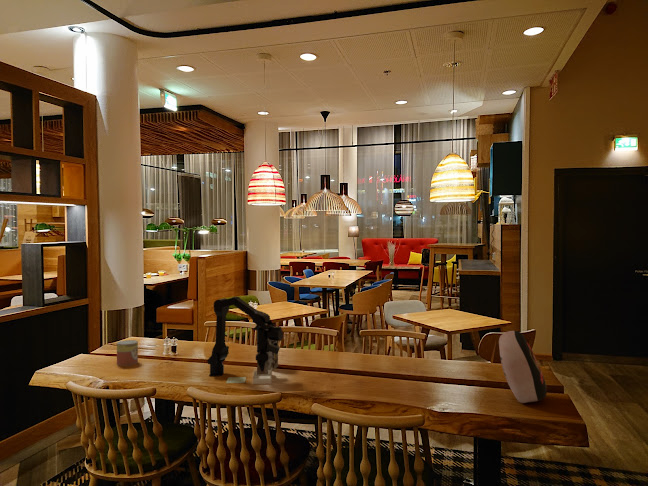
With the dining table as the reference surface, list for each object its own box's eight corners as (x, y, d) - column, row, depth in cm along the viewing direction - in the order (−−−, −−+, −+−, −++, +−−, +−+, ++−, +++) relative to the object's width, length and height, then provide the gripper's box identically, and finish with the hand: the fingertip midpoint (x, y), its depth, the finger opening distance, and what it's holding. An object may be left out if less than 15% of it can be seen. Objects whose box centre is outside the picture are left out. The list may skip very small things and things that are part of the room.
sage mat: (226, 384, 228) (226, 382, 228) (228, 378, 237) (228, 377, 237) (244, 383, 229) (244, 382, 229) (246, 378, 238) (246, 377, 238)
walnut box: (256, 374, 233) (257, 361, 233) (257, 372, 237) (257, 359, 237) (268, 374, 233) (268, 361, 233) (268, 371, 237) (268, 359, 237)
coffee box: (273, 370, 253) (273, 340, 252) (262, 369, 254) (262, 340, 254) (278, 366, 261) (278, 337, 261) (267, 365, 263) (267, 336, 263)
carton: (252, 384, 227) (252, 376, 227) (254, 376, 242) (254, 368, 242) (271, 384, 228) (271, 376, 228) (271, 375, 243) (271, 367, 243)
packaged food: (549, 410, 193) (549, 338, 193) (498, 404, 200) (498, 334, 200) (545, 394, 213) (545, 328, 213) (499, 389, 220) (499, 325, 220)
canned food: (130, 366, 261) (130, 344, 261) (112, 365, 263) (112, 344, 263) (141, 361, 273) (141, 340, 273) (124, 360, 274) (124, 339, 274)
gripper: (278, 342, 226) (278, 375, 226) (278, 335, 245) (278, 364, 245) (255, 343, 225) (255, 375, 225) (257, 335, 244) (257, 365, 244)
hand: (262, 370), depth 235 cm, fingers closed on walnut box, 4 cm apart
